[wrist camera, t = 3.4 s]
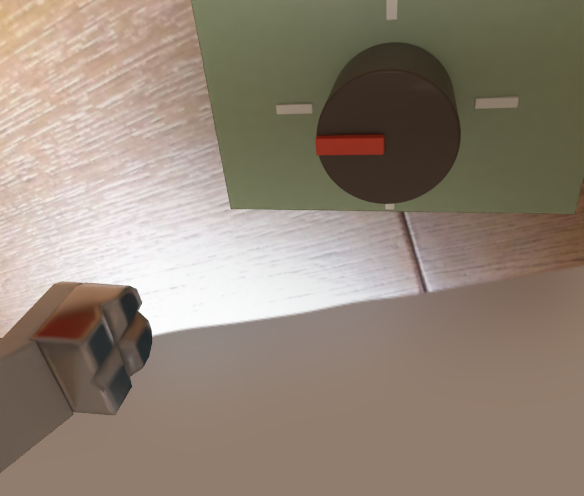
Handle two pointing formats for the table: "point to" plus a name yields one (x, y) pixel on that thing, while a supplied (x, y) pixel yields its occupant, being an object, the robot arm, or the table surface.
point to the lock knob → (389, 125)
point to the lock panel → (442, 45)
